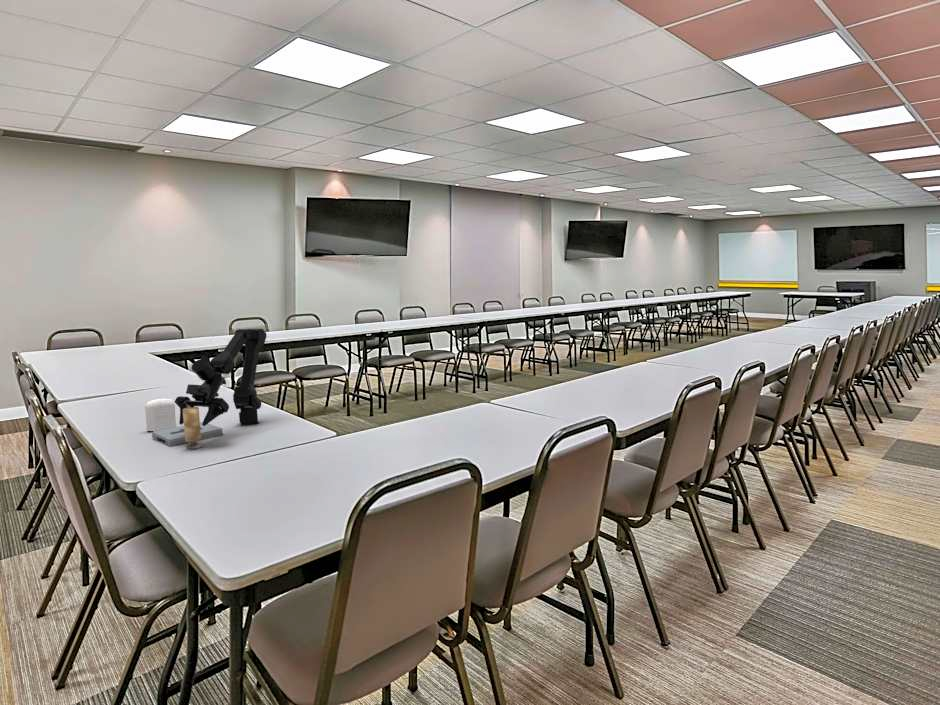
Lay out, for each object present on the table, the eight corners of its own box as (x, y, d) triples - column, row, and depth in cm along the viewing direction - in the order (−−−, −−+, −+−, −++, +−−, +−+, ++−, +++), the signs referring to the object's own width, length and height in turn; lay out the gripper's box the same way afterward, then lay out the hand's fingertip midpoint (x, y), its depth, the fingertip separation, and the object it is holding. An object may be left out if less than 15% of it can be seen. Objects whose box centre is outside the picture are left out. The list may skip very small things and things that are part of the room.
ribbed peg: (201, 444, 207) (198, 406, 205) (201, 448, 202) (198, 409, 200) (186, 446, 205) (182, 408, 203) (185, 450, 200) (182, 411, 198)
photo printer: (175, 426, 232) (173, 396, 230) (177, 428, 228) (174, 398, 227) (146, 430, 226) (143, 399, 225) (147, 433, 223) (144, 401, 221)
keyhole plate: (203, 427, 229) (202, 421, 229) (222, 434, 219) (222, 428, 219) (152, 438, 215) (151, 432, 215) (170, 446, 205) (169, 439, 205)
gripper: (176, 374, 207) (155, 411, 198) (221, 375, 203) (203, 413, 194) (192, 391, 216) (173, 428, 207) (237, 393, 212) (219, 430, 202)
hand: (191, 424), depth 202 cm, fingers open, 9 cm apart
